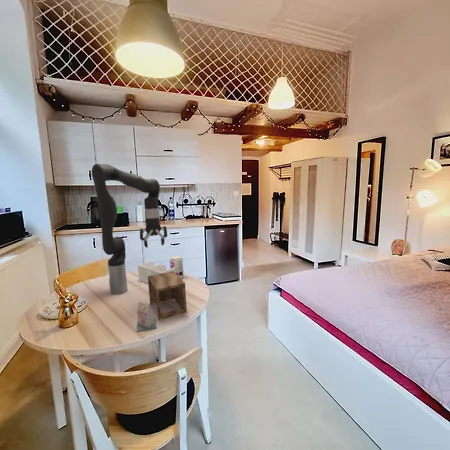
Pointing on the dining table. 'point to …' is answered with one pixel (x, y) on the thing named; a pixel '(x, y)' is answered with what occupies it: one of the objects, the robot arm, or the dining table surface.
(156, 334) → the dining table surface
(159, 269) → the storage container
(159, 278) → the hutch
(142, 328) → the mat
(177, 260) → the supplement can
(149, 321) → the tea bag
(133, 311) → the dining table surface
